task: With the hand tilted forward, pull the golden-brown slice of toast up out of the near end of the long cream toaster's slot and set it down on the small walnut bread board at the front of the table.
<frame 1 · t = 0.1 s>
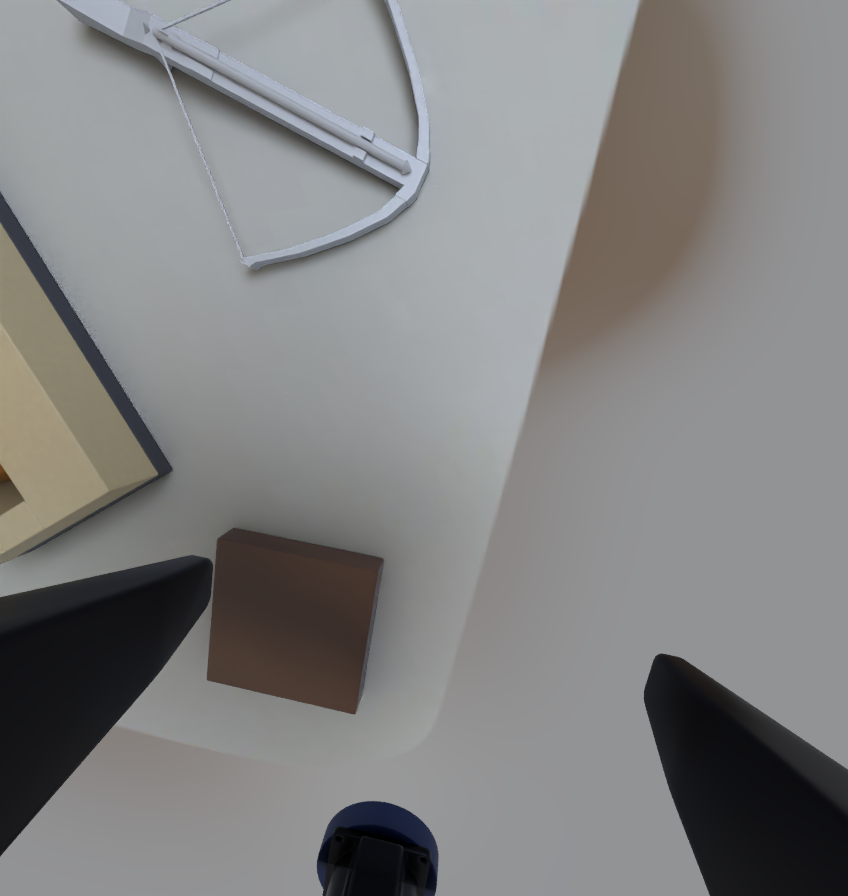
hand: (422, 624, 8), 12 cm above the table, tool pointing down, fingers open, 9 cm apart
crossbow: (259, 102, 18), on the table
bread board: (299, 612, 23), on the table
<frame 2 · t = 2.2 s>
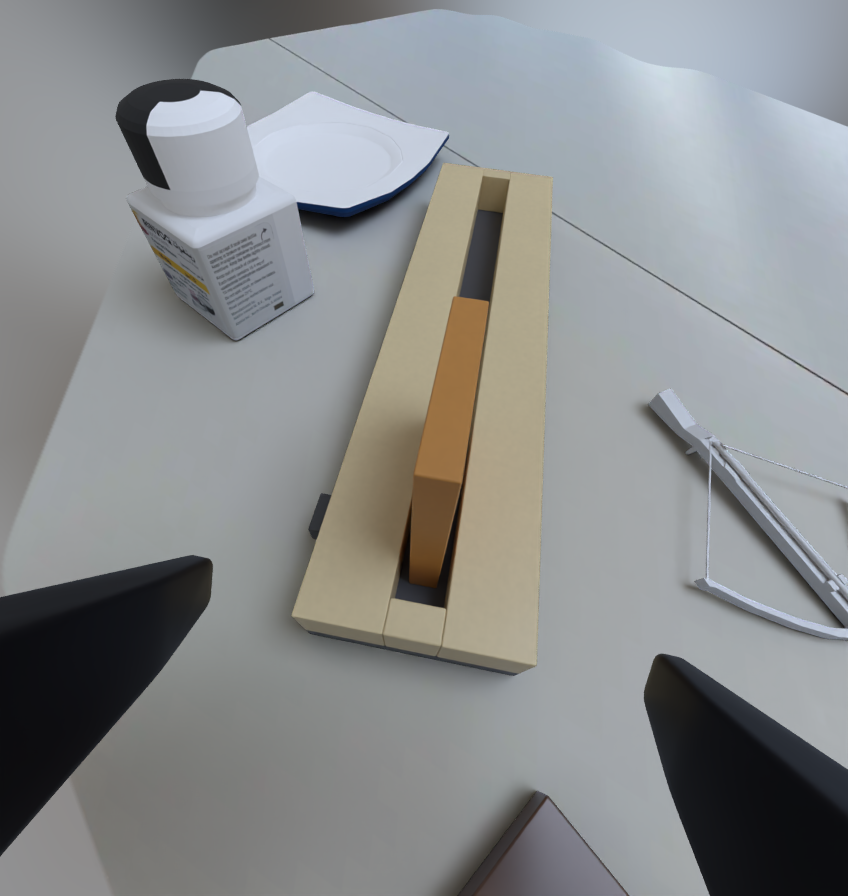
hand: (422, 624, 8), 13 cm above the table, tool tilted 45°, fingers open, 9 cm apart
container: (248, 297, 34), on the table
toast: (435, 513, 23), point 1 cm above the table, touching toaster
crossbow: (738, 505, 26), on the table
toaster: (464, 357, 31), on the table
plate: (330, 171, 46), on the table
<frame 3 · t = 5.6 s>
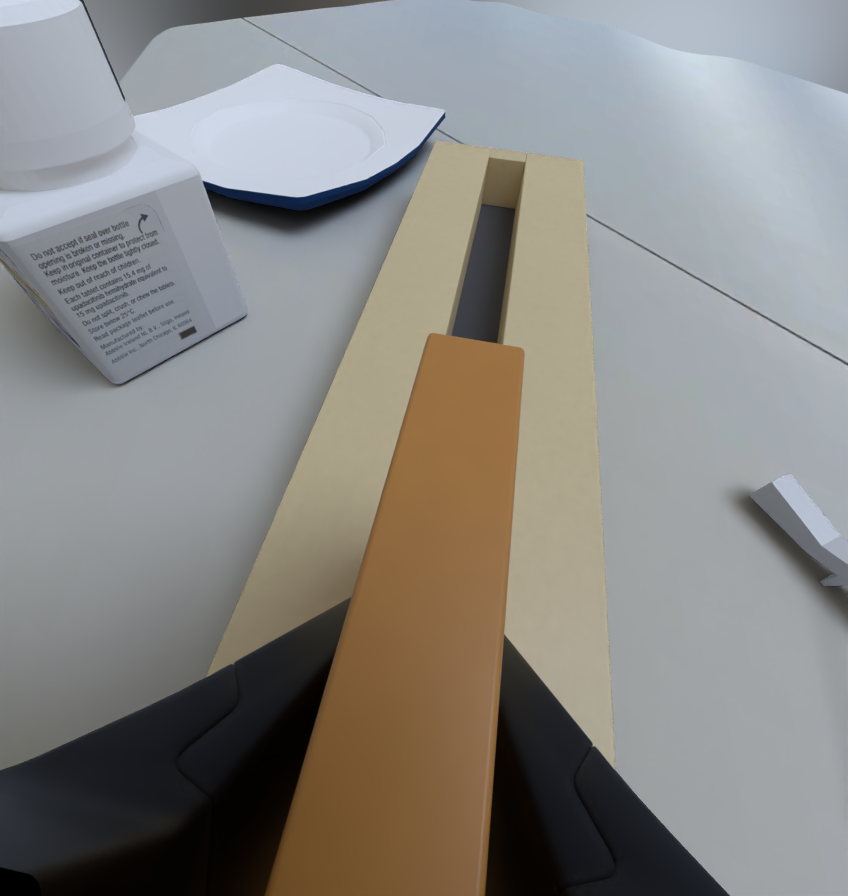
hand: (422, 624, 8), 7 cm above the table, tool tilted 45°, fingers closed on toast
container: (152, 319, 24), on the table
toast: (403, 725, 12), point 1 cm above the table, touching gripper, toaster
toaster: (460, 413, 21), on the table
plate: (294, 157, 36), on the table
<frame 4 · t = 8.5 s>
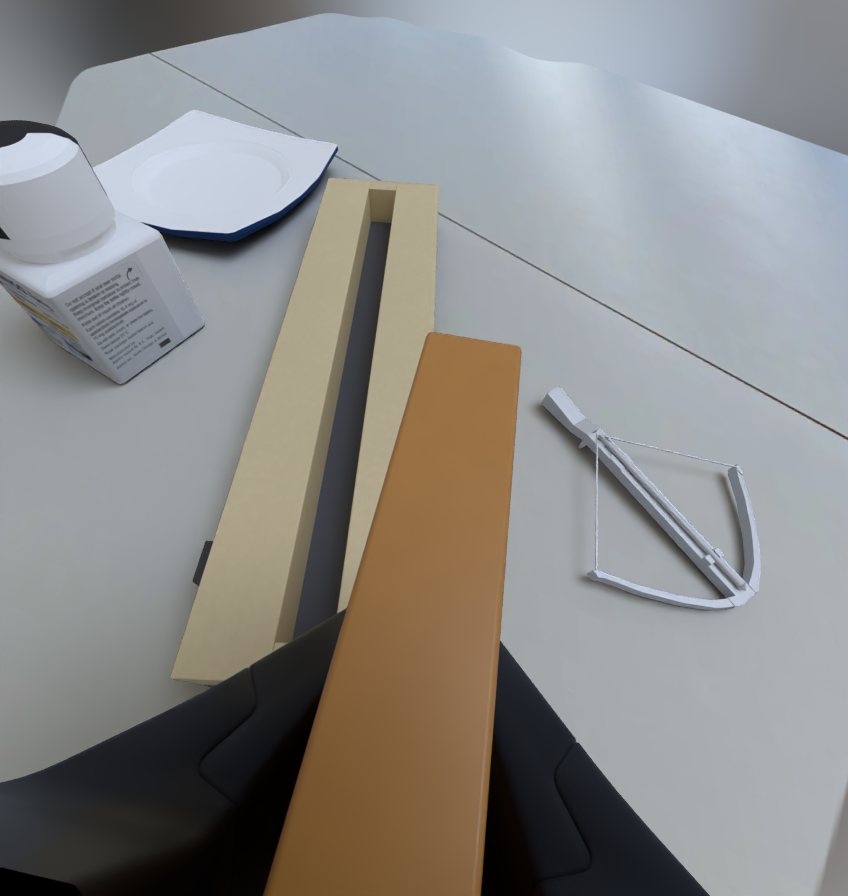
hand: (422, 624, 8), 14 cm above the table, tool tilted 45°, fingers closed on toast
container: (134, 336, 33), on the table
toast: (403, 722, 13), point 8 cm above the table, touching gripper
crossbow: (628, 491, 27), on the table
toaster: (362, 376, 31), on the table
plate: (219, 192, 44), on the table
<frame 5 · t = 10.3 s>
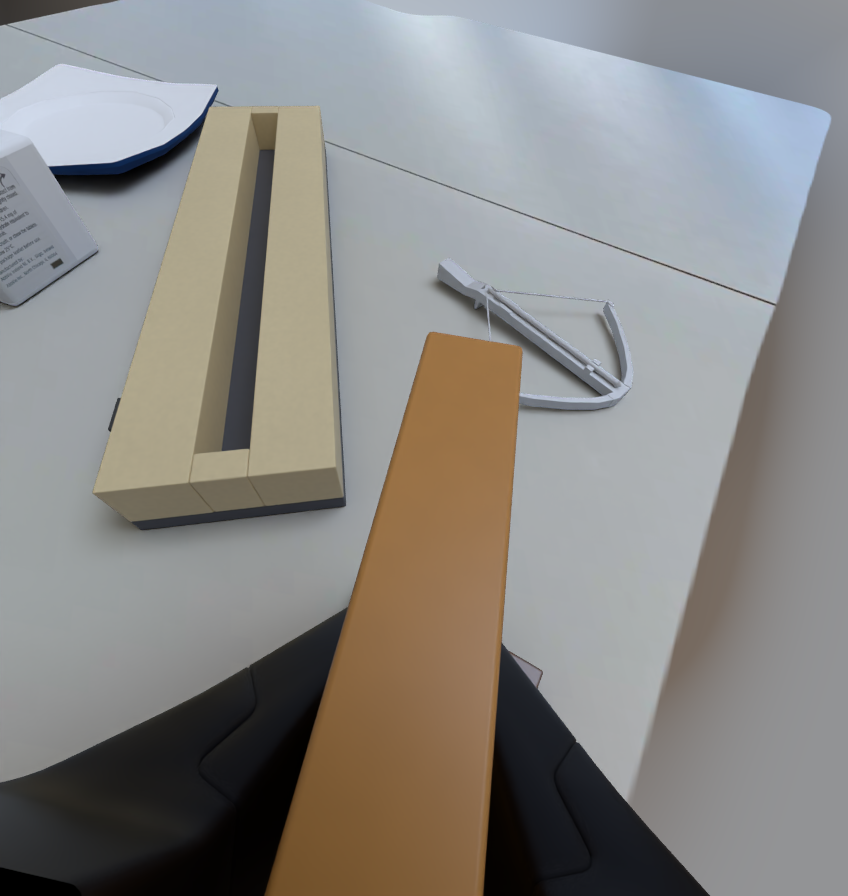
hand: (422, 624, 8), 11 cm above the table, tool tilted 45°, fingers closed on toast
container: (24, 266, 32), on the table
toast: (403, 723, 13), point 5 cm above the table, touching gripper
crossbow: (521, 336, 30), on the table
toaster: (265, 275, 32), on the table
bread board: (405, 717, 17), on the table
plate: (100, 140, 44), on the table
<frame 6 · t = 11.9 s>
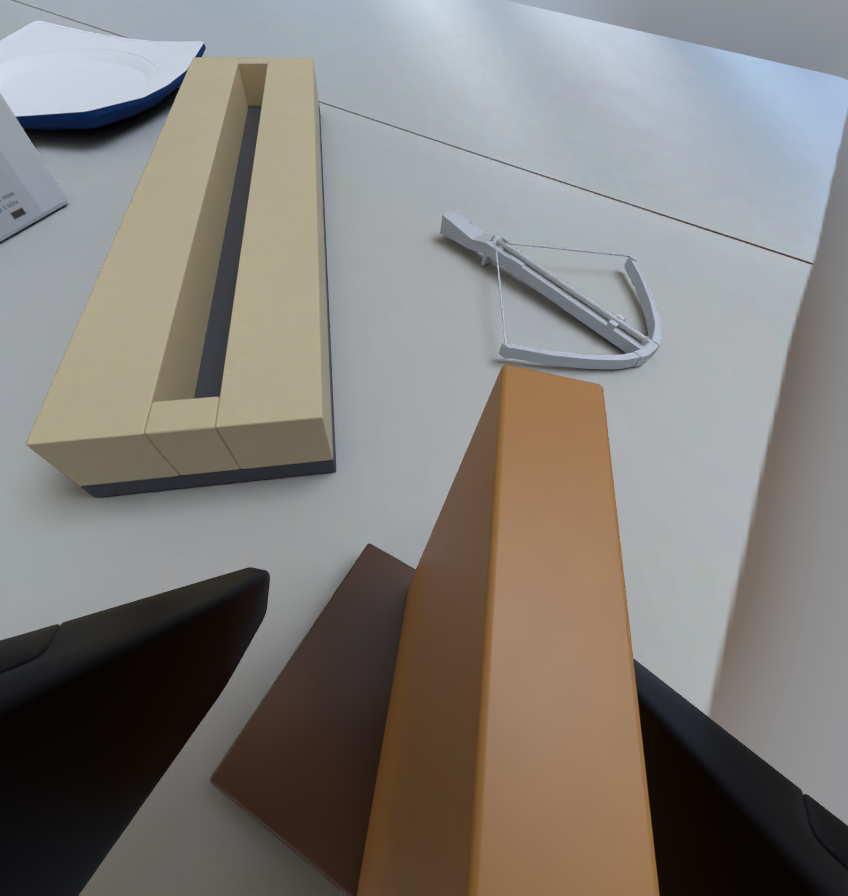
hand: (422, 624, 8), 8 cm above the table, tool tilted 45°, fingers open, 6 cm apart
toast: (409, 724, 13), point 2 cm above the table, tilted 6°, touching bread board
crossbow: (534, 294, 27), on the table
toaster: (251, 230, 29), on the table
bread board: (405, 717, 14), on the table
plate: (78, 98, 41), on the table
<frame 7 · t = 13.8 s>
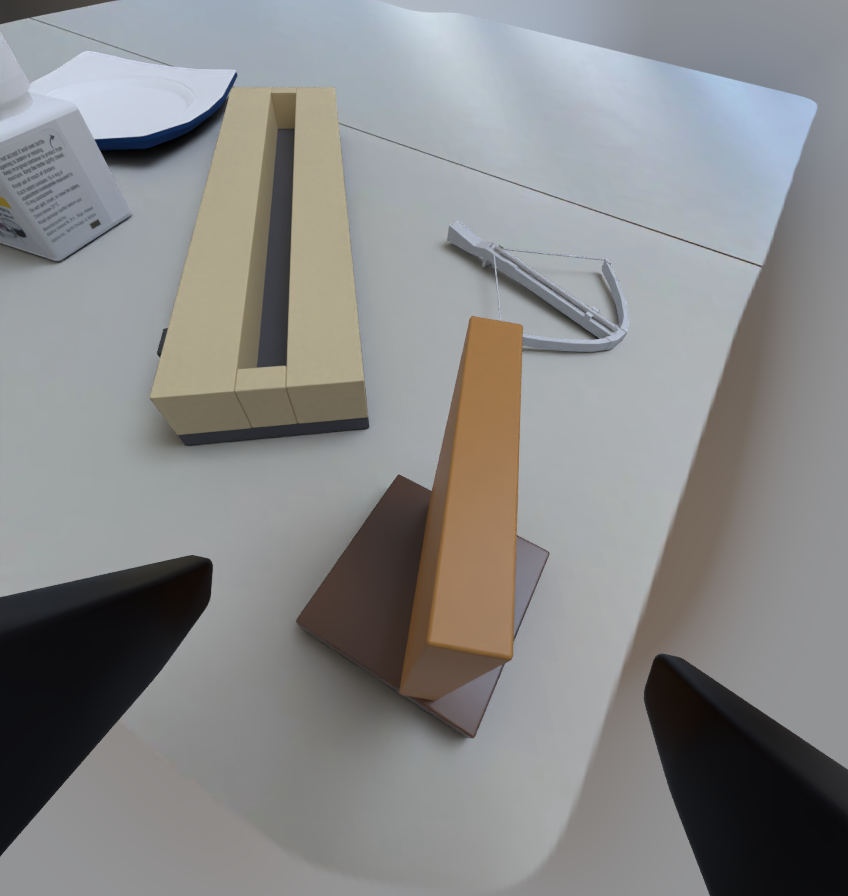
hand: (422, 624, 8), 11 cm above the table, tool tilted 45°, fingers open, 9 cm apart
container: (62, 229, 34), on the table
toast: (432, 589, 18), point 2 cm above the table, touching bread board
crossbow: (526, 291, 32), on the table
toaster: (287, 238, 35), on the table
bread board: (428, 594, 19), on the table
plate: (126, 121, 46), on the table
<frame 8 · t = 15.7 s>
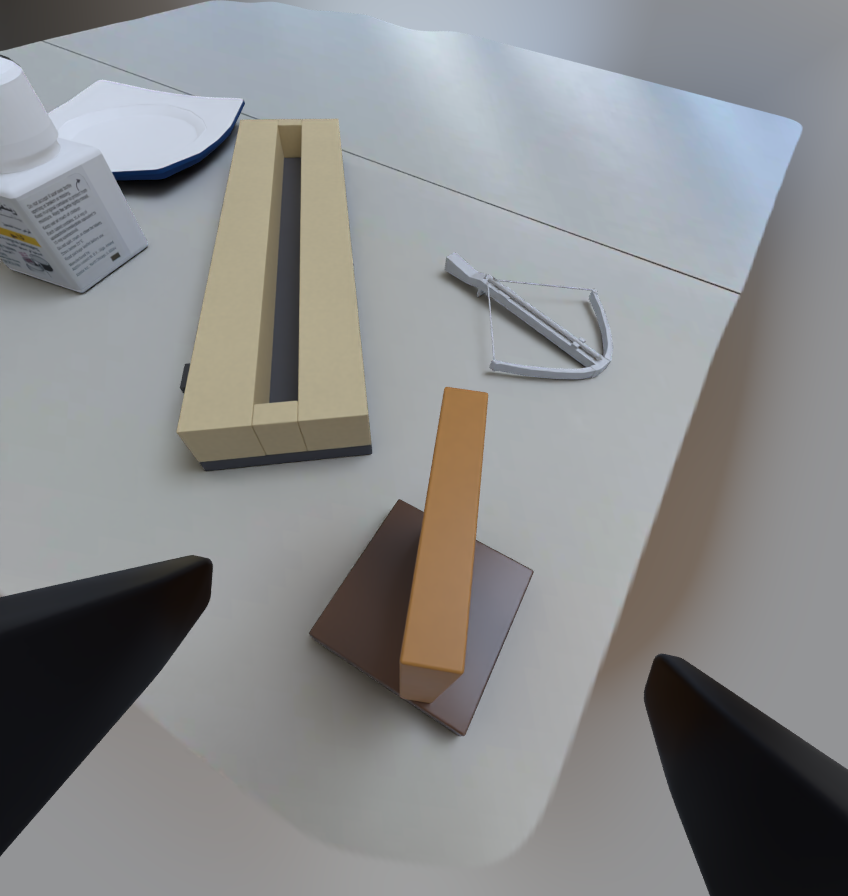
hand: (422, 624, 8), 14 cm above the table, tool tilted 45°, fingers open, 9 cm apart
container: (84, 259, 37), on the table
toast: (428, 604, 20), point 2 cm above the table, touching bread board
crossbow: (517, 319, 35), on the table
toaster: (295, 267, 37), on the table
bread board: (425, 607, 22), on the table
plate: (139, 149, 48), on the table
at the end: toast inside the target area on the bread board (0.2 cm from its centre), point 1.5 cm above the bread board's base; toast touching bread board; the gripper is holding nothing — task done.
